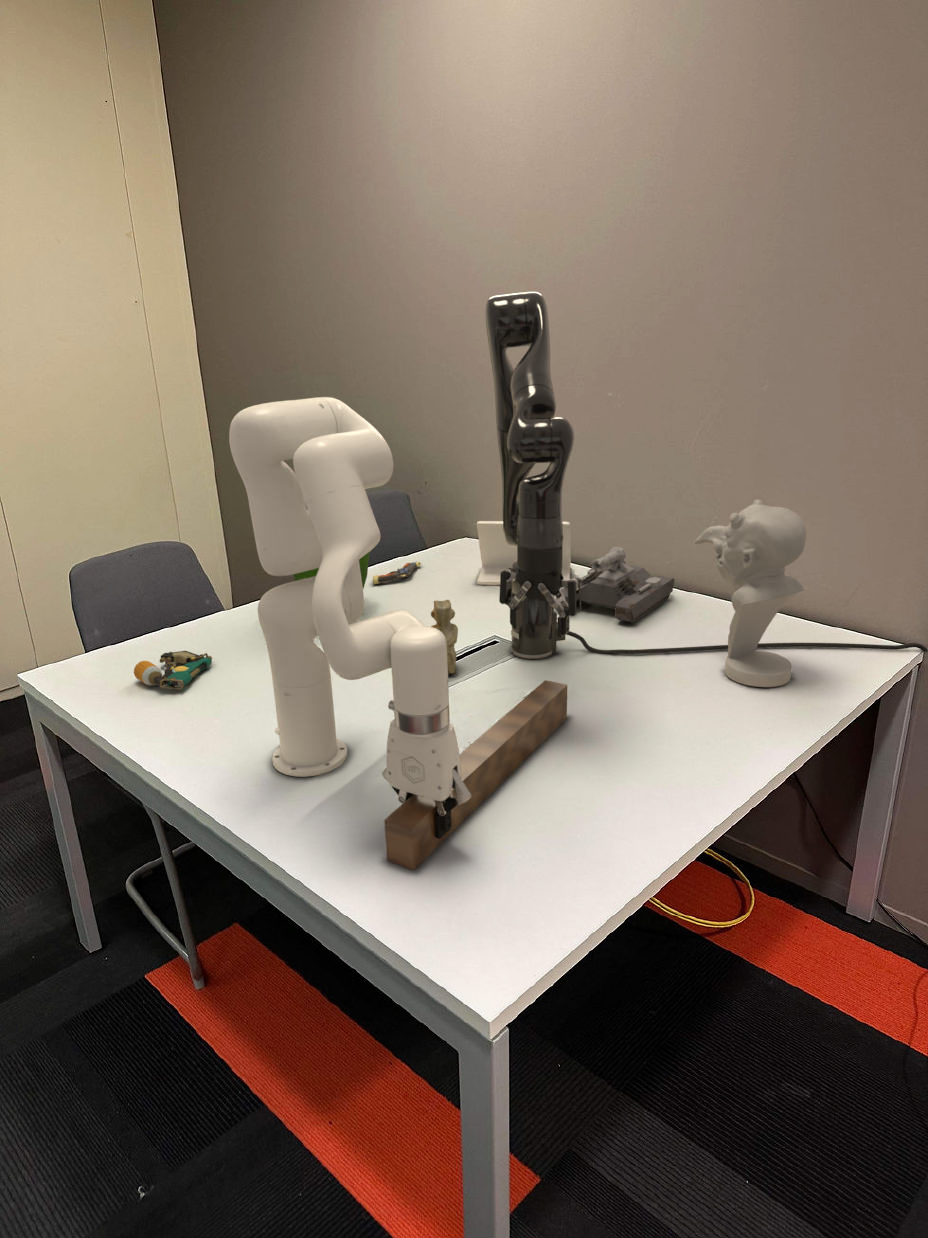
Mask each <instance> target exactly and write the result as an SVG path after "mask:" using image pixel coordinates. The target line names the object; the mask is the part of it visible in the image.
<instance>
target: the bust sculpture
mask: <svg viewBox="0 0 928 1238" xmlns="http://www.w3.org/2000/svg"><path fill="white" fill-rule="evenodd" d="M806 529H807V528H806V526H805V524H804V521H803V520H802V519H801V517H800V516H799V515H798V514H797V513H796V512H794V511H793V510H791V509H789V508H786V507H781V506H770V505H766V504H764V502H763V501H762V500H761V499H755V500H753V502H752V504H751V505H748V506H747V507H745V508H743V509H742V510H741V511H739V513H738V512H733V513H732V514H730V516H729V523H728V525H727V526H725V525H713V526H709V527H707V528H706V529H704V530H703V531H702V532H701V534H699V536H698V537H697V538H696V539H695V540H694V542H693V544H694V545H695V546H696V545H697V546H698V545H703V544H707V543H712V544H713V548H714V551H715V552H716V554H717V555H716V556H715V564H716V566H717V569H718V571H719V573H720V575H721V577H722V579H723V580H724V581H726V582H727V583H728V584H729V585H731V587H732V588H734V589H735V591H734V592H733V594H732V596H731V600H730V601H731V604H732V608H733V610H734V613H733V616H732V618H731V622H730V624H729V633H728V635H727V636H728V637H727V645H728V649H727V656H726V658H725V663H724V664H725V665H724V674H725V675H726V677H728V678H729V679H730V680H732V681H734V682H736V683H739V684H741V685H745V686H748V687H749V686H750V687H758V688H774V687H780V686H783V685H785V684H788V683H789V682H790V680H791V677H792V668H793V664H792V662H791V661H790V660H789V659H788V658H786V657H784V656H782V655H780V654H777V653H774V652H769V651H765V650H757V649H758V648H757V646H758V644H759V643H760V641H761V639H763V638H762V637H763V636H764V635H765V632H766V631H767V629H768V627H769V625H770V624H771V622H772V621H773V619H774V618H775V617H776V616H777V614H778V613H779V612H780V610H781V609H782V608H783V607H784V606H785V605H786V604H787V603H788V602H789V601H790V600H791V599H793V597H795V596H797V595H798V594H799V593H801V592H804V591H805V588H804V586H803V585H802V583H801V582H800V581H799V580H798V579H797V578H795V577H793V576H790V575H786V574H785V573H786V569H785V568H786V567H787V566H789V565H791V564H793V563H794V562H795V561H797V560H798V559H800V557H801V555H802V554H803V552H804V550H805V547H806V540H807V530H806Z"/></svg>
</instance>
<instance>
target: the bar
mask: <svg viewBox="0 0 928 1238" xmlns="http://www.w3.org/2000/svg"><path fill="white" fill-rule="evenodd" d="M568 686H569V685H568V684H565V683H561V682H556V681H552V680H544V681H542V682H541V683H540V684H539V685H538V686H536V687H535V689H533V690H531V692H530V693H528V694H527V695H526V696H525V697H524V698H523V699H522V700H520V701H519V702H518V703H517V704H516V705H515V706H513V707H512V708H511V709H510V710H509V711H508V712H507V713H506V714H505V715H503V716H502V717H501V718H500V719H499V720H497V721H496V722H495V723H493V725H492V726H490V727H489V728H488V729H487V730H485V732H484V733H482V734H481V736H479V737H477V739H475V740H474V741H473V742H472V743H471V744H469V746H467V747H466V748H465V749H464V750H463V751H462V752H461V753H459V756H460V765H461V779H462V781H463V782H464V784H465V786H466V787H467V789H468V790H469V792H470V794H471V798H470V799H469V800H468V801H467V802H465V803H463V804H460V805H457V806H456V807H454V808H453V809H452V810H451V820H452V826H451V829H450V830H449V831H448V832H447V833H446V834H445V835H444V836H443V837H442V838H441V839H438V838H436V837H435V821H434V816H435V814H436V813H437V808H436V804H435V801H434V800H432V799H428V798H425V797H422V796H418V795H415V794H413V795H412V796H411V797H410V798H409V799H408V800H406V801H405V802H404V803H403V804H402V803H401V805H399V807H397V808H396V809H395V810H393V812H391V813H390V814H389V815H388V816H387V817H385V818H384V819H383V822H384V835H385V837H384V838H385V849H386V861H387V862H391V863H392V864H395V865H398V866H401V867H404V868H407V869H408V870H409V869H410V870H412V871H415V870H416V869H417V868H418V867H419V866H420V865H421V864H422V863H423V862H424V861H425V860H426V859H427V858H428V857H429V856H430V855H431V854H432V853H433V852H434V851H435V850H436V849H437V848H438V847H439V846H440V845H441V844H442V843H443V842H444V841H445V840H446V839H447V838H448V837H449V836H450V835H451V834H452V833H453V832H454V831H455V830H456V829H457V828H458V827H459V826H460V825H461V824H462V823H463V822H464V821H465V820H466V819H467V818H468V817H469V816H470V815H471V814H472V813H473V812H474V811H475V810H476V809H478V807H479V806H480V805H481V804H482V803H483V802H484V801H485V800H486V799H487V798H488V797H489V796H490V795H492V793H493V792H494V791H496V789H497V788H498V787H500V785H501V784H502V783H503V782H505V780H506V779H507V778H508V777H510V775H511V774H512V773H513V772H515V770H516V769H517V768H518V767H519V766H520V765H521V764H522V763H523V762H525V761H526V759H527V758H529V756H530V755H532V754H533V752H534V751H535V750H536V749H537V748H538V747H539V746H540V745H541V744H542V743H543V742H545V740H546V739H548V737H549V736H550V735H551V734H553V732H554V731H555V730H556V729H557V728H559V727H560V725H561V724H562V723H563V722H565V721H566V720H567V718H568ZM451 791H452V795H453V796H454V795H456V793H455V791H454V790H453V788H452V789H451ZM444 803H445V800H444Z"/></svg>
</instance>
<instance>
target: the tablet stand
mask: <svg viewBox="0 0 928 1238" xmlns="http://www.w3.org/2000/svg"><path fill="white" fill-rule="evenodd" d="M562 525H563V550H562V576H563V578H565V579H571V565H572V564H571V560H572V558H571V522H569V521H562ZM476 531H477V537H478V544H479V551H480V557H481V558H480V559H481V570H480V573H479V575H478V577H477V580H476V581H477V582H476V584H478V585H484V586H485V585H486V586H487V585H489V586H490V585H491V586H500V575H501V572H502V571H504V570H506V569H508V568H511V567H512V565H513V563H515V562H516V561H517V546H513V545H509V544H508V543H507V542H506V540H505V536H504V531H503V520H477V522H476Z"/></svg>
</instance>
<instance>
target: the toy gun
mask: <svg viewBox="0 0 928 1238" xmlns="http://www.w3.org/2000/svg"><path fill="white" fill-rule="evenodd" d="M419 566H422V562H421V561H415V562H414V561H412V562H406V563H405V564H404V565H403V566H402V567H400V568H397V569H396V570H393V571H389V573H386V574H380V575H378V574H375V575H373V576H372V583H373V585H377V584H381V583H382V584H383V583H386V582H390V581H394V580H397V579H401V578H405V577H407V578H408V577H409V575H411V574H412V573H413V572H414V570H415V569H417V568H418V567H419Z"/></svg>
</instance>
